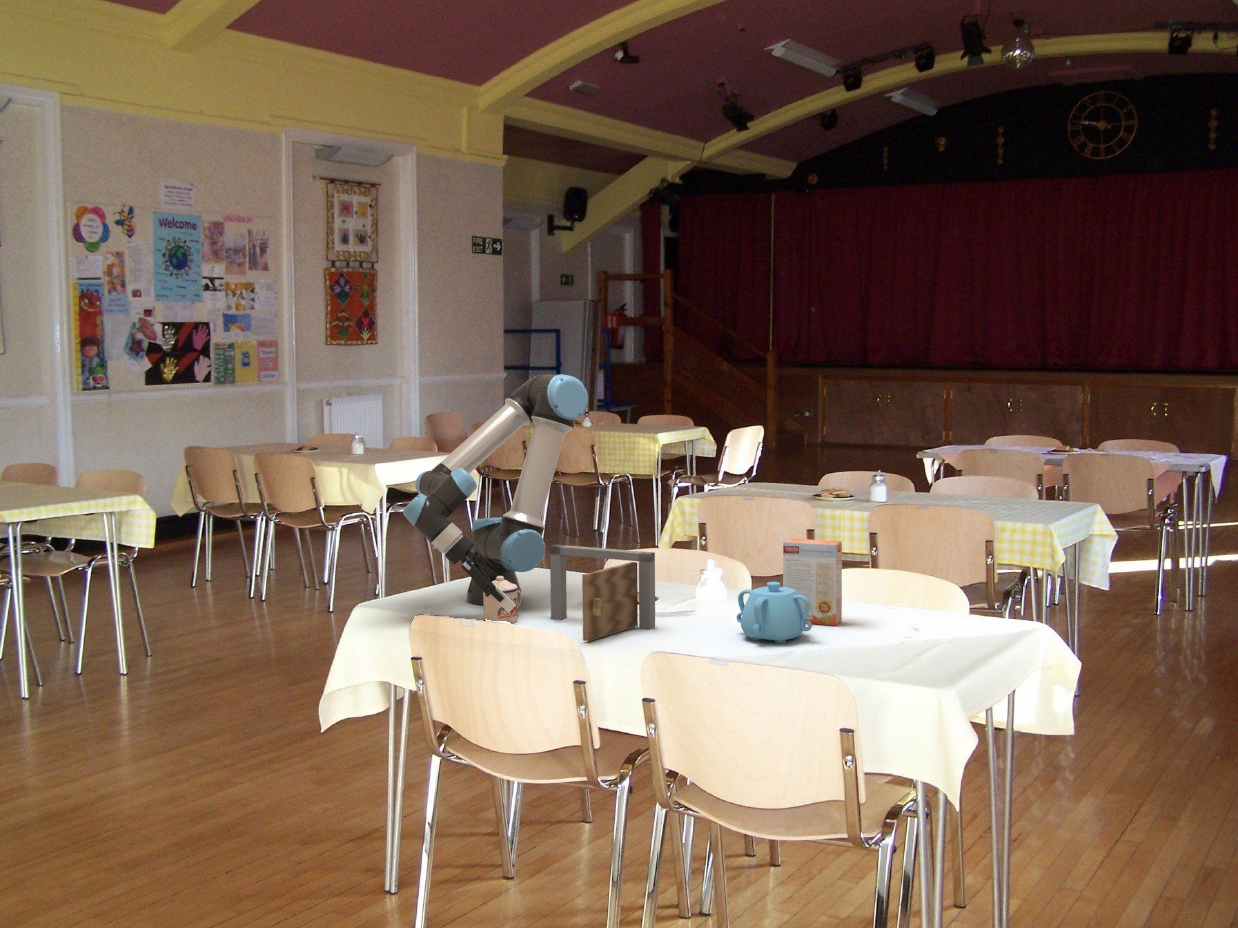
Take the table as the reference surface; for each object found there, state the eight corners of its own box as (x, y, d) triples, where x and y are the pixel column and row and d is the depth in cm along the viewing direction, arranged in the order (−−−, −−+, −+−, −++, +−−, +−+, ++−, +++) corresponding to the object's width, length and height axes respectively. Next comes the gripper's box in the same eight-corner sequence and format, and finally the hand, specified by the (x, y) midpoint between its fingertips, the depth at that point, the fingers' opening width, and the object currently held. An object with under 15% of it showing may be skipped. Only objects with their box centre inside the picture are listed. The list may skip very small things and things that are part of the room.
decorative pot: (733, 631, 317) (733, 577, 315) (796, 628, 319) (796, 574, 317) (748, 647, 300) (748, 590, 299) (815, 644, 302) (815, 587, 301)
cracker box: (842, 621, 326) (843, 540, 323) (835, 626, 320) (836, 544, 318) (789, 616, 331) (789, 537, 329) (782, 621, 326) (782, 540, 324)
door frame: (556, 616, 334) (555, 544, 332) (655, 627, 321) (654, 552, 319) (551, 618, 331) (549, 546, 329) (650, 629, 318) (649, 554, 316)
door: (632, 624, 322) (632, 561, 320) (643, 626, 320) (642, 563, 318) (583, 640, 306) (582, 574, 304) (593, 642, 304) (592, 575, 302)
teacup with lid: (500, 626, 323) (499, 581, 322) (475, 621, 329) (474, 577, 328) (533, 618, 332) (533, 574, 331) (508, 613, 338) (508, 570, 337)
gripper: (451, 547, 340) (510, 605, 341) (435, 562, 317) (498, 624, 318) (470, 527, 340) (530, 585, 341) (456, 541, 317) (519, 603, 318)
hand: (515, 604), depth 329 cm, fingers closed on teacup with lid, 11 cm apart
